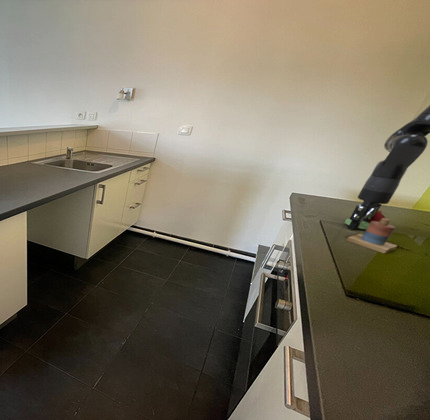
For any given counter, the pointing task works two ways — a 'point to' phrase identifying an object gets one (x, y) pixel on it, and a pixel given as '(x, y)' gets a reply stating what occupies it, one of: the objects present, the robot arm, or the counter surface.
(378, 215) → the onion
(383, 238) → the stand
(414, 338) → the counter surface
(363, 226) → the ring
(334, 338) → the counter surface
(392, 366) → the counter surface
